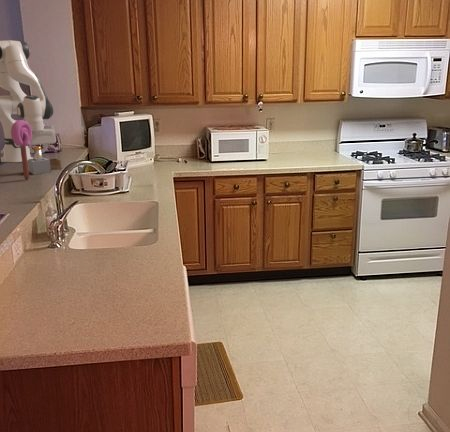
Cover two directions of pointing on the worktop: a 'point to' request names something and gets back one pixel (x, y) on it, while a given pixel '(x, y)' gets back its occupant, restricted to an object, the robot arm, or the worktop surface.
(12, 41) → the robot arm
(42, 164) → the socket
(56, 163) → the mount
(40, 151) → the pin
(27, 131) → the lollipop
